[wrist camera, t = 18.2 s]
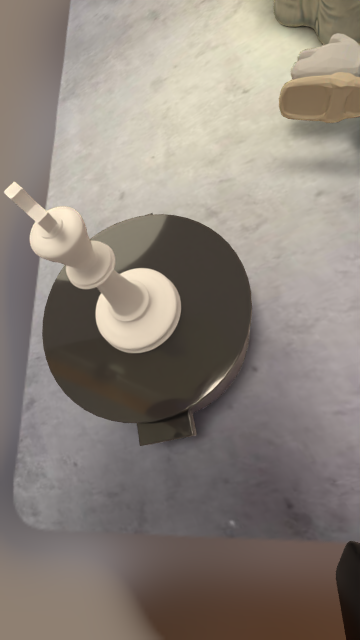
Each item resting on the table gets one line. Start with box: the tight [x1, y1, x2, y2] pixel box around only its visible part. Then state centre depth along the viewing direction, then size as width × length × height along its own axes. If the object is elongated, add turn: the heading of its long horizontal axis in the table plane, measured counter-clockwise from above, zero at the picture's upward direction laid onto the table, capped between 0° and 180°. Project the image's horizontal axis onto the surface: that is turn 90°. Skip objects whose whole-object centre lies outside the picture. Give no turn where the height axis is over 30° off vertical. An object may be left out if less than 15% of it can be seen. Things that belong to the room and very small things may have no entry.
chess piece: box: [4, 182, 181, 353], centre depth 14 cm, size 5×5×10 cm
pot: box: [42, 213, 252, 446], centre depth 21 cm, size 15×13×5 cm
